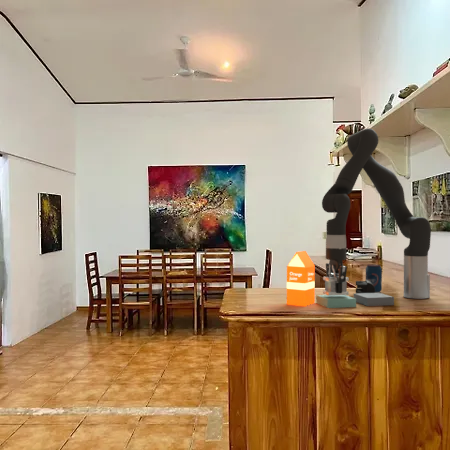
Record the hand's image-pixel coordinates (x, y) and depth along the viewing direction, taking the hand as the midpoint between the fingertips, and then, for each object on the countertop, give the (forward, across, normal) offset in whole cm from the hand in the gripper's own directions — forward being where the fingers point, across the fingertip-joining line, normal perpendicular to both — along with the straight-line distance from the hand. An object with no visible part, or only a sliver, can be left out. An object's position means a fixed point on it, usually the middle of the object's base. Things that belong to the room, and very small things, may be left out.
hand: (335, 291), depth 182 cm
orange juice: (+5, -5, -12) cm, 14 cm away
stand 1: (+5, 0, 0) cm, 5 cm away
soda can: (+5, -28, +31) cm, 42 cm away
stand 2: (+5, -1, +16) cm, 17 cm away
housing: (+1, 0, 0) cm, 1 cm away
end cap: (+5, -15, +20) cm, 25 cm away
